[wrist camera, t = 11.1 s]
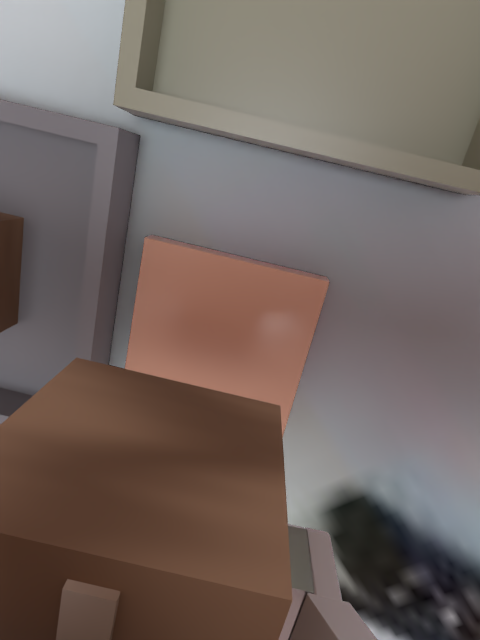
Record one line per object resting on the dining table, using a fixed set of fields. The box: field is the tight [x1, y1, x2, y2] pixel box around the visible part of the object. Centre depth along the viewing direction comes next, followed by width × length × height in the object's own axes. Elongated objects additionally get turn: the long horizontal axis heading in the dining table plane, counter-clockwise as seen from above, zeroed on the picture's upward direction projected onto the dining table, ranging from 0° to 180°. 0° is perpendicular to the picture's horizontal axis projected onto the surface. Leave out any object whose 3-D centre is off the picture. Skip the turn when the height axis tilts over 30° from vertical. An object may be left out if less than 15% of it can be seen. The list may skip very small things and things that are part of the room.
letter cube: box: [0, 357, 293, 640], centre depth 8 cm, size 5×5×5 cm
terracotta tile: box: [125, 235, 329, 437], centre depth 19 cm, size 8×8×1 cm
